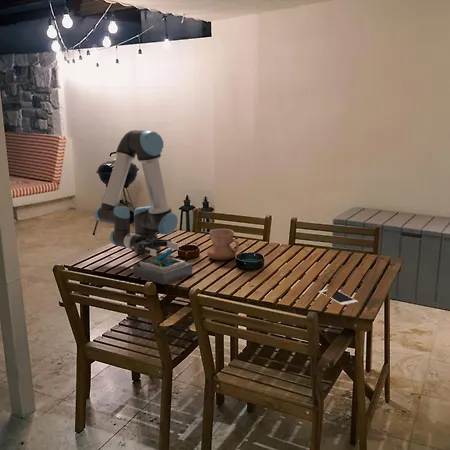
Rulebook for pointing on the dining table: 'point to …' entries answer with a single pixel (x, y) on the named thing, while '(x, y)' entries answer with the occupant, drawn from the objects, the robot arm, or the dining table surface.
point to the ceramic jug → (222, 244)
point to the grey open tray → (162, 270)
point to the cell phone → (340, 298)
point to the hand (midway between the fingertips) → (167, 249)
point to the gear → (163, 258)
